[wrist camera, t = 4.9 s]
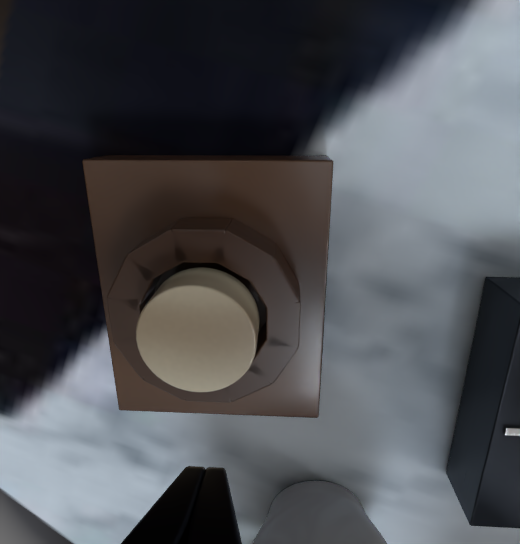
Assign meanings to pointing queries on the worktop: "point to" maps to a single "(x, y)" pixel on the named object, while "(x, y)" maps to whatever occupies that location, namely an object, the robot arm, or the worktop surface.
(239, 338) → the button
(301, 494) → the mug
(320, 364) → the switch block
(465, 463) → the dimmer panel
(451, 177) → the worktop surface
